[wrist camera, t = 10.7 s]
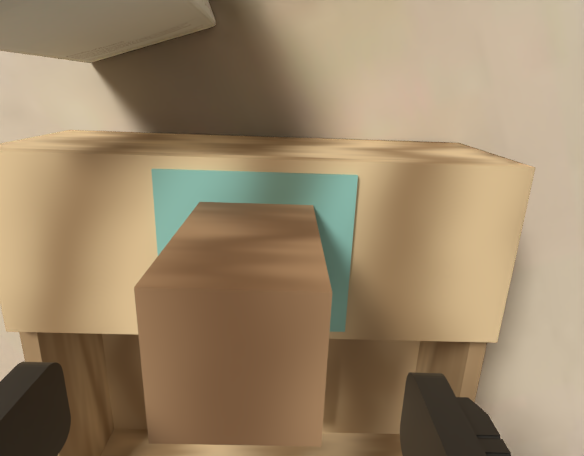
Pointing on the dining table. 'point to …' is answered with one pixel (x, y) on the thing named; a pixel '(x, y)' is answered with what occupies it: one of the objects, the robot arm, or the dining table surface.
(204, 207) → the block
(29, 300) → the crate
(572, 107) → the dining table surface
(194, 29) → the supplement box
